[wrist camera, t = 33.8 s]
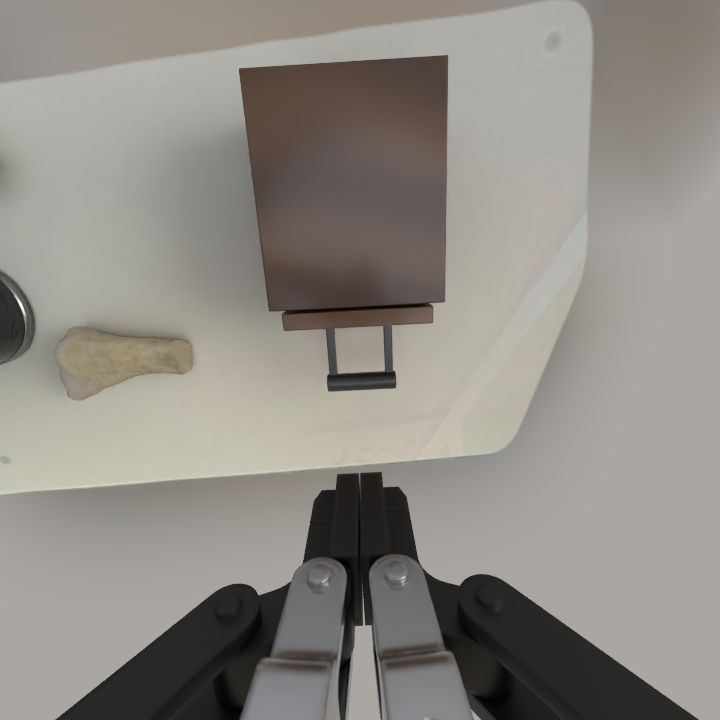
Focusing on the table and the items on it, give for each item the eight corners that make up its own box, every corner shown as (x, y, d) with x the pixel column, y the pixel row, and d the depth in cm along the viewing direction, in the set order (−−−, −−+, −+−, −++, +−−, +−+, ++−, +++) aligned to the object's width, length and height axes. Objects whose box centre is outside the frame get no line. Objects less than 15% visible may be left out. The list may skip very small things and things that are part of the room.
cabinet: (422, 287, 33) (445, 302, 25) (292, 294, 33) (269, 311, 25) (422, 111, 29) (448, 54, 21) (274, 120, 29) (238, 68, 21)
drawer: (418, 368, 35) (433, 399, 28) (305, 374, 35) (292, 406, 28) (416, 146, 29) (434, 115, 22) (283, 154, 29) (259, 126, 22)
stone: (89, 393, 36) (49, 414, 32) (59, 332, 35) (12, 344, 30) (198, 365, 35) (174, 382, 31) (172, 300, 34) (142, 308, 29)
